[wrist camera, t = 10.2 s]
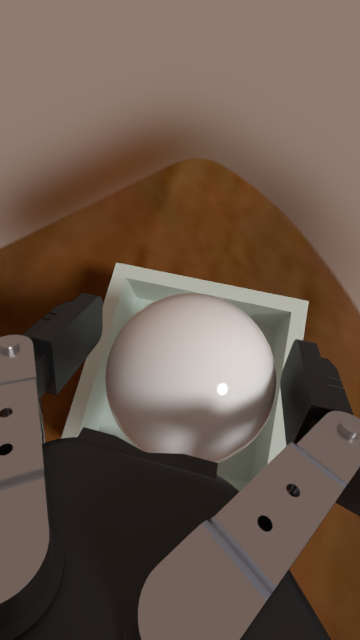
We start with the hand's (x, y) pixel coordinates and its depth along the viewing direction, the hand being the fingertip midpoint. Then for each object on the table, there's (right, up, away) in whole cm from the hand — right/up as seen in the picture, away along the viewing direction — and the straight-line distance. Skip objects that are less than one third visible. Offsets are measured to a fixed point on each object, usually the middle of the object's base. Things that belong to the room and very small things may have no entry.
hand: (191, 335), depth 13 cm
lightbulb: (0, -4, +7) cm, 8 cm away
